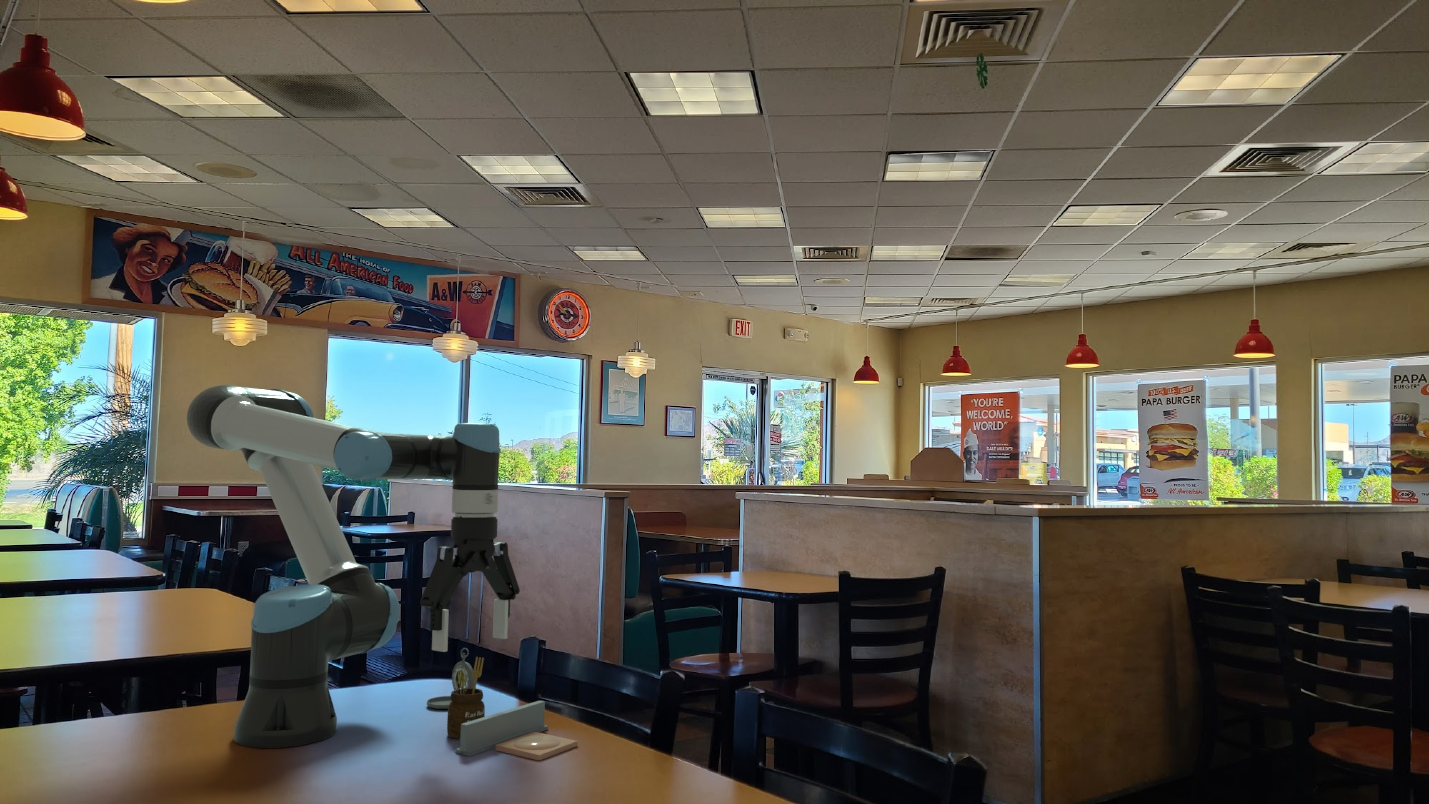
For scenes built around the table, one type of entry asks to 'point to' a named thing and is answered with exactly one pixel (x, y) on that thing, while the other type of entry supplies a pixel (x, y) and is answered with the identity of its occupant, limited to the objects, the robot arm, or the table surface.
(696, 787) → the table surface
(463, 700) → the utensil holder
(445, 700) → the pocket watch
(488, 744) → the low wall
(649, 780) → the table surface
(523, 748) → the coaster
